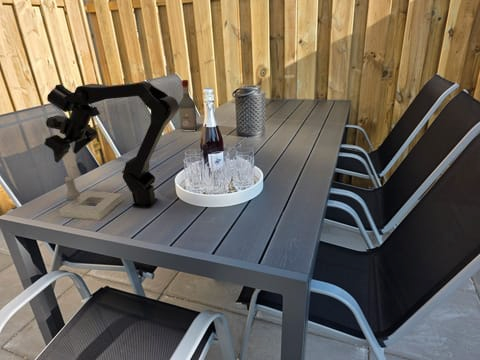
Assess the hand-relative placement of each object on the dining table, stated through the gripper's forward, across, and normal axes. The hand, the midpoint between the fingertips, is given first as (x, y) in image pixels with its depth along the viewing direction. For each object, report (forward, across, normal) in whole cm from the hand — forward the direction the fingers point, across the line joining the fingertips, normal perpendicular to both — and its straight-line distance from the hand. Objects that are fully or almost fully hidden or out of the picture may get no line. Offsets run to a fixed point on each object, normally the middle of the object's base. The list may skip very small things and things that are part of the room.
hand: (65, 157), depth 109 cm
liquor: (+8, -96, +16) cm, 98 cm away
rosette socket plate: (+7, +6, +18) cm, 20 cm away
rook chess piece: (+14, 0, +8) cm, 16 cm away
